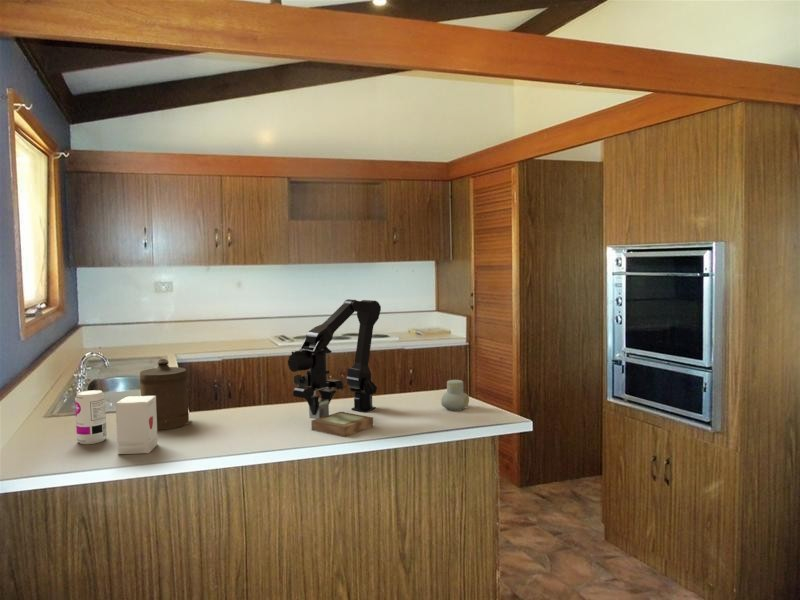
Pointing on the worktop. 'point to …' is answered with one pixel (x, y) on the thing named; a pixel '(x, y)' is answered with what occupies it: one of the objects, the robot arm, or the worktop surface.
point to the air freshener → (455, 396)
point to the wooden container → (167, 394)
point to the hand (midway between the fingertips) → (319, 413)
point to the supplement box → (136, 424)
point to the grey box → (320, 409)
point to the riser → (342, 423)
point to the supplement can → (90, 417)
